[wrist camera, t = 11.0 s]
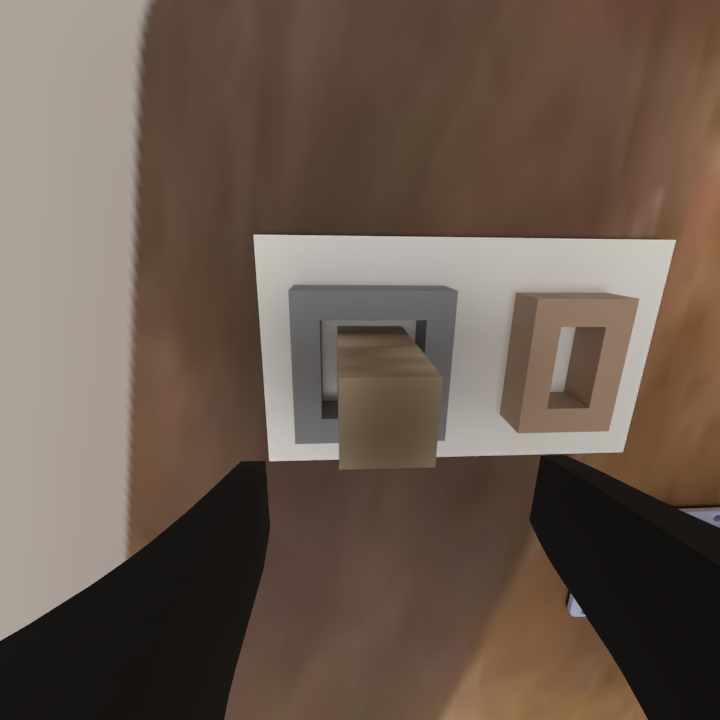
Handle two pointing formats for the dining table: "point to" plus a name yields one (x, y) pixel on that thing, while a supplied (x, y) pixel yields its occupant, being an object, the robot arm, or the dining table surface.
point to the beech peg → (386, 400)
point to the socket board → (465, 334)
